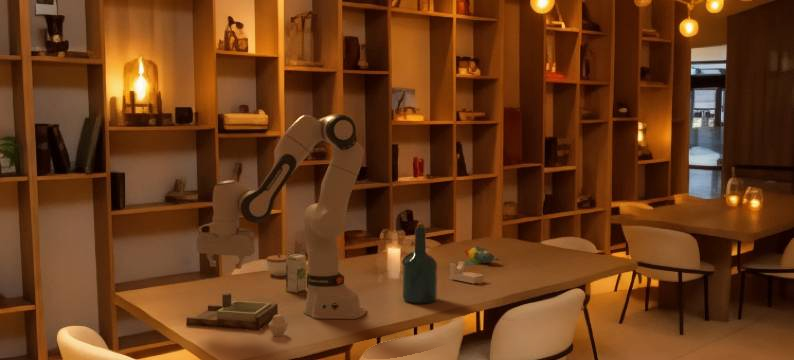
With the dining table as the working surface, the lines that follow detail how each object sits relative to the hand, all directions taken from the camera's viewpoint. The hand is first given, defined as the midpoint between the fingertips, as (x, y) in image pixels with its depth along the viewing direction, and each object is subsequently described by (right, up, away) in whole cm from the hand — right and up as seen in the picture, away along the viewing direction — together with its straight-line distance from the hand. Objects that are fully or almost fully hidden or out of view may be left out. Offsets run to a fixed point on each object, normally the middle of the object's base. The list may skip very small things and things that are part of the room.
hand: (225, 267), depth 250 cm
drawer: (+6, -18, +1) cm, 19 cm away
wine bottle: (+67, -17, +31) cm, 76 cm away
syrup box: (+18, -15, +44) cm, 50 cm away
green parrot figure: (+99, -11, +102) cm, 142 cm away
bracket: (+89, -14, +63) cm, 110 cm away
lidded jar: (+7, -12, +73) cm, 74 cm away
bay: (+2, -19, +1) cm, 19 cm away
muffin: (+20, -21, -14) cm, 32 cm away
